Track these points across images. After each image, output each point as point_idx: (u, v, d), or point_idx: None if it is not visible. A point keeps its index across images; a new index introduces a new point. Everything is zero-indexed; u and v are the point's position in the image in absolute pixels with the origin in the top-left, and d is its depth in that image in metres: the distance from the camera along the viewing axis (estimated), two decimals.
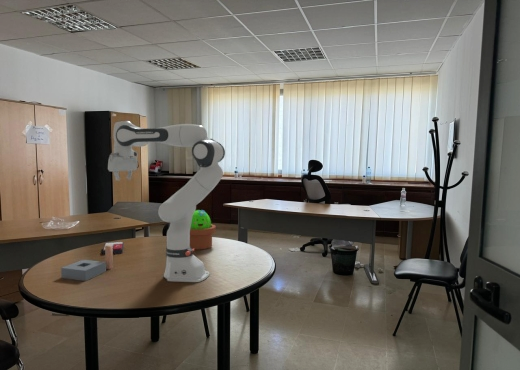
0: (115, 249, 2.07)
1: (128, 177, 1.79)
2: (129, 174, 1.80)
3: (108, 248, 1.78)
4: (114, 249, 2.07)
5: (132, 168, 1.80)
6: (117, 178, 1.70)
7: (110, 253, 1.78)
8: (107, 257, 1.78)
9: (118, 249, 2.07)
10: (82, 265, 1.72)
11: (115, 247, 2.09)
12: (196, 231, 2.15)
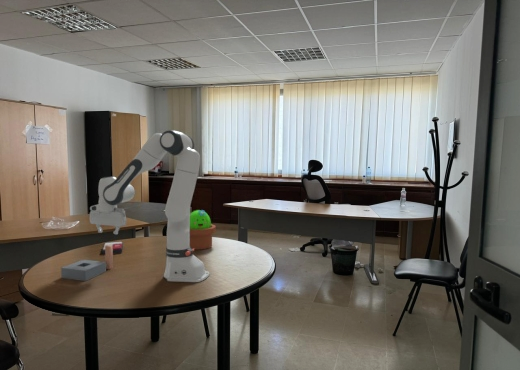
0: (114, 249, 2.07)
1: (101, 230, 1.80)
2: (99, 227, 1.80)
3: (108, 248, 1.78)
4: (113, 249, 2.07)
5: None
6: (117, 232, 1.78)
7: (110, 253, 1.78)
8: (107, 257, 1.78)
9: (117, 249, 2.08)
10: (82, 265, 1.72)
11: (114, 247, 2.09)
12: (196, 231, 2.15)
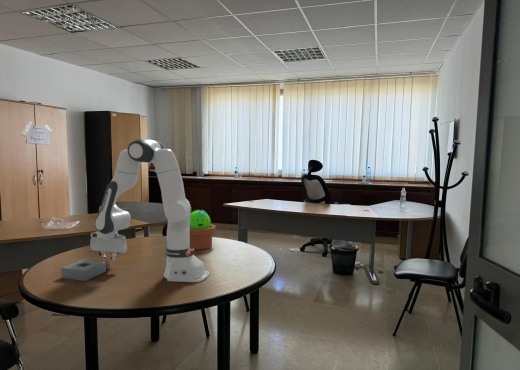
0: None
1: None
2: (104, 254, 1.80)
3: None
4: None
5: None
6: (114, 258, 1.79)
7: (110, 253, 1.78)
8: (107, 257, 1.78)
9: None
10: (82, 265, 1.72)
11: None
12: (196, 231, 2.15)
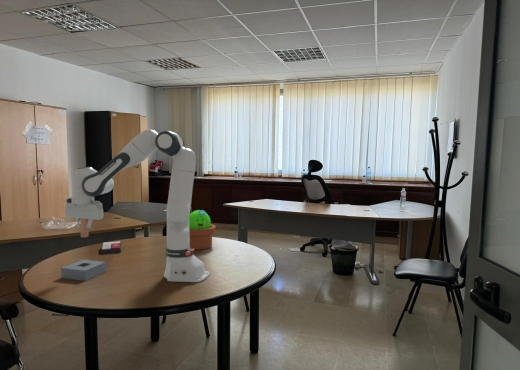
0: (113, 248, 2.08)
1: None
2: (79, 221, 1.70)
3: None
4: (112, 248, 2.08)
5: None
6: (90, 225, 1.68)
7: (85, 220, 1.67)
8: (82, 224, 1.67)
9: (116, 248, 2.09)
10: (82, 265, 1.72)
11: (113, 246, 2.10)
12: (196, 231, 2.15)
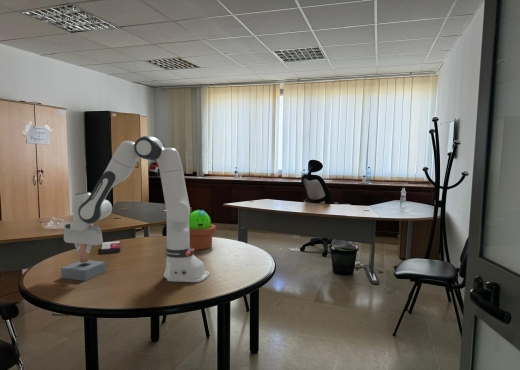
0: (113, 248, 2.09)
1: None
2: (78, 246, 1.70)
3: None
4: (112, 248, 2.09)
5: None
6: (89, 250, 1.68)
7: (84, 246, 1.67)
8: (81, 250, 1.67)
9: (116, 248, 2.09)
10: (82, 265, 1.72)
11: (113, 246, 2.11)
12: (196, 231, 2.15)
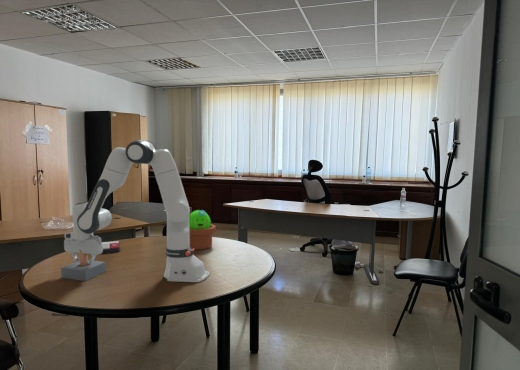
0: (112, 248, 2.09)
1: (77, 258, 1.71)
2: (75, 255, 1.71)
3: None
4: (111, 248, 2.09)
5: None
6: (93, 260, 1.68)
7: (84, 257, 1.68)
8: (81, 261, 1.68)
9: (115, 248, 2.10)
10: None
11: (112, 246, 2.11)
12: (196, 231, 2.15)
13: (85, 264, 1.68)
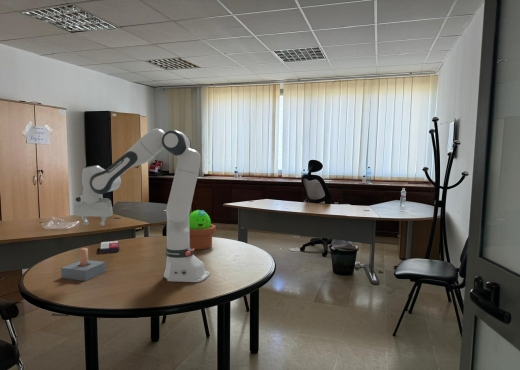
0: (112, 248, 2.10)
1: (87, 222, 1.73)
2: (85, 219, 1.73)
3: (83, 251, 1.67)
4: (111, 248, 2.09)
5: None
6: (104, 223, 1.71)
7: (85, 257, 1.68)
8: (82, 261, 1.68)
9: (115, 248, 2.10)
10: None
11: (112, 246, 2.12)
12: (196, 231, 2.15)
13: (85, 264, 1.68)
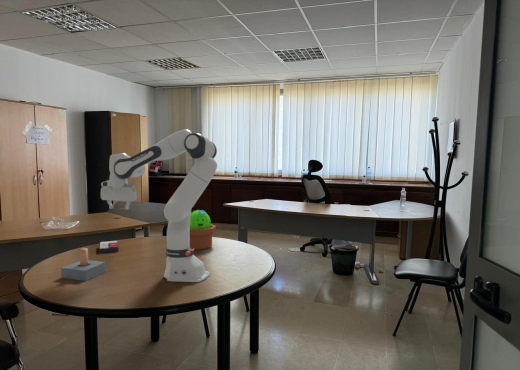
0: (111, 248, 2.10)
1: (112, 206, 1.83)
2: (110, 203, 1.83)
3: (83, 251, 1.67)
4: (110, 248, 2.10)
5: None
6: (128, 207, 1.81)
7: (85, 257, 1.68)
8: (82, 261, 1.68)
9: (114, 248, 2.11)
10: None
11: (111, 246, 2.12)
12: (196, 231, 2.15)
13: (85, 264, 1.68)
